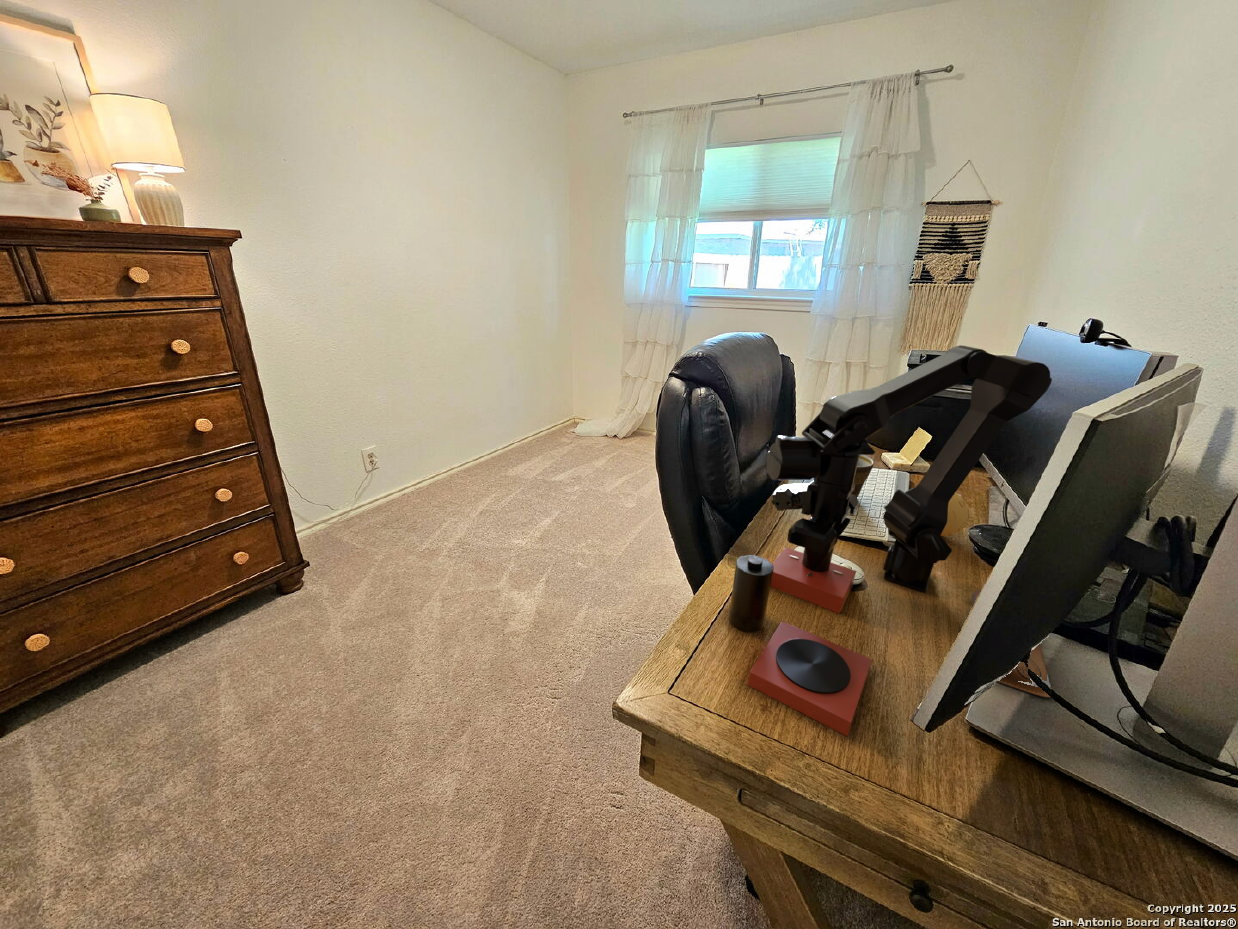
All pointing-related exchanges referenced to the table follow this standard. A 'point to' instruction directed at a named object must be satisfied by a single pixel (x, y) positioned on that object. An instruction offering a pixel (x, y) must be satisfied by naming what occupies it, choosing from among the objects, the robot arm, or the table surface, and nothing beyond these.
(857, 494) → the ceramic cup
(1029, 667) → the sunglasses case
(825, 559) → the hob knob
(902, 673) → the table surface
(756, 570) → the black battery
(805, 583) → the control panel
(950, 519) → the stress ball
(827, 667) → the hot plate
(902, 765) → the table surface
